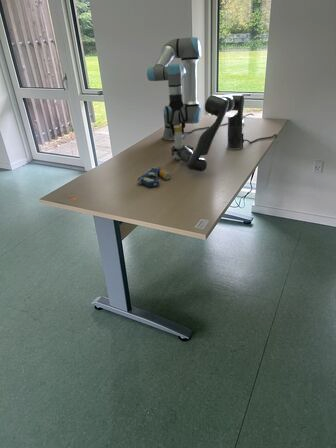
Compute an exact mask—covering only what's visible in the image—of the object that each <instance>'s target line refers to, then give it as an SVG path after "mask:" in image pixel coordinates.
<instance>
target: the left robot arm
mask: <svg viewBox="0 0 336 448" xmlns="http://www.w3.org/2000/svg"><path fill="white" fill-rule="evenodd" d="M201 56H202V48H201V42H200V40H199V38H198V37H196V36H193V37H192V36H191V37H180V38H173V39H171V40H169V41H168V42H166V43H165V44H164V45H163V46H162V47H161V50H160V54H159V57H158V58H157V60H156V62H155V64H154V66H149V67H147V69H146V77H147V80H148V81H149V82H162V81H167V82H168V94H169V95H168V98H169V103H168V105H165V106H164V108H163V122H164V130H163V135H162V139H163V140H164V141H167V142H175V140H174V126H175V125H181V126H182V139H184V137H185V136H184V134H191V133H193V132H194V131H197V130H204V129H208V128H209V127H210V126H205V127H198V128H194V129H192V130H191V131H187V132H186V131H185V128H186V124H187V125H189V124H191V125H194V124H198V123H199V122H200V121H201V116H202V105H200V102H198V98H197V95H198V94H197V93H198V92H197V91H198V90H197V63H198V61H199V60H200V59H199V58H200V57H201ZM174 59H180V61H181V62H182V64H183V65H181V64H180V63H171V62H172V61H173V60H174ZM182 80H183V84H182ZM182 85H183V86H182ZM183 90H184V91H183ZM182 93H183V94H182ZM183 95H184V96H183ZM183 97H184V98H183ZM183 99H184V101H183ZM250 115H251V116H254V114H253V113H247V114H245V115H243V118H245V117H248V116H250ZM225 125H228V122H227V123H226V122H225V123H221V124H220V127H221V126H225Z"/></svg>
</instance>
